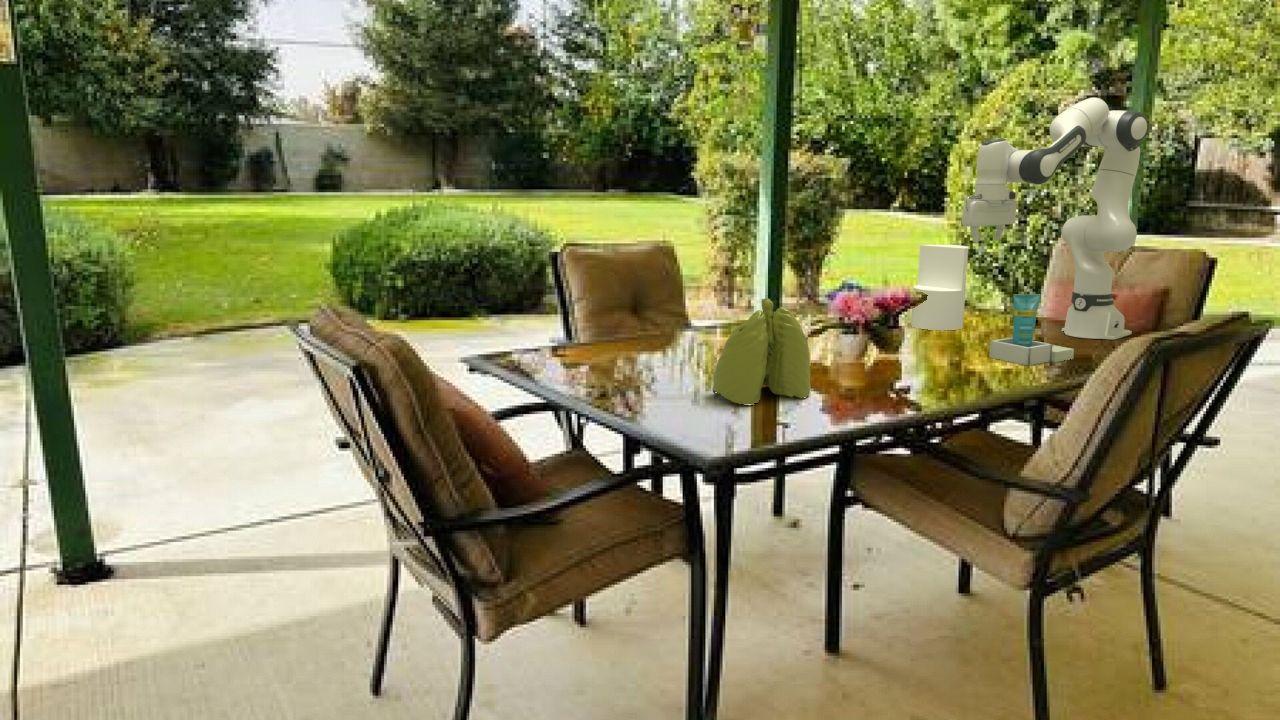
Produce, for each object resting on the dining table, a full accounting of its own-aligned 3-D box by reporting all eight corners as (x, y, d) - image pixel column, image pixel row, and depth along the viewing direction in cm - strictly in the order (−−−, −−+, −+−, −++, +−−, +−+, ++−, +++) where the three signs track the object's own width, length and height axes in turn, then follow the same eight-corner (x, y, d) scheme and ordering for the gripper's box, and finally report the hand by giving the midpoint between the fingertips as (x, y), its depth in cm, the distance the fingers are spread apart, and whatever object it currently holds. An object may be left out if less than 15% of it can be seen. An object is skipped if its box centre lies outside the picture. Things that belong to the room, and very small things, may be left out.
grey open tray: (1025, 349, 277) (1027, 333, 276) (1073, 359, 264) (1074, 342, 263) (985, 356, 268) (986, 340, 267) (1032, 366, 255) (1033, 349, 254)
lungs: (785, 384, 237) (788, 293, 232) (820, 397, 224) (824, 301, 218) (701, 394, 227) (702, 299, 222) (732, 409, 214) (734, 308, 208)
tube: (1011, 361, 262) (1017, 295, 258) (1005, 357, 267) (1010, 292, 262) (1037, 361, 262) (1043, 295, 258) (1030, 357, 267) (1036, 292, 262)
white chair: (929, 320, 329) (933, 243, 323) (972, 327, 316) (978, 246, 310) (900, 326, 318) (905, 246, 312) (944, 333, 305) (950, 250, 299)
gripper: (975, 195, 263) (972, 243, 266) (1021, 193, 274) (1017, 239, 277) (958, 194, 269) (954, 241, 272) (1003, 193, 279) (1000, 238, 282)
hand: (986, 240), depth 274 cm, fingers open, 8 cm apart
